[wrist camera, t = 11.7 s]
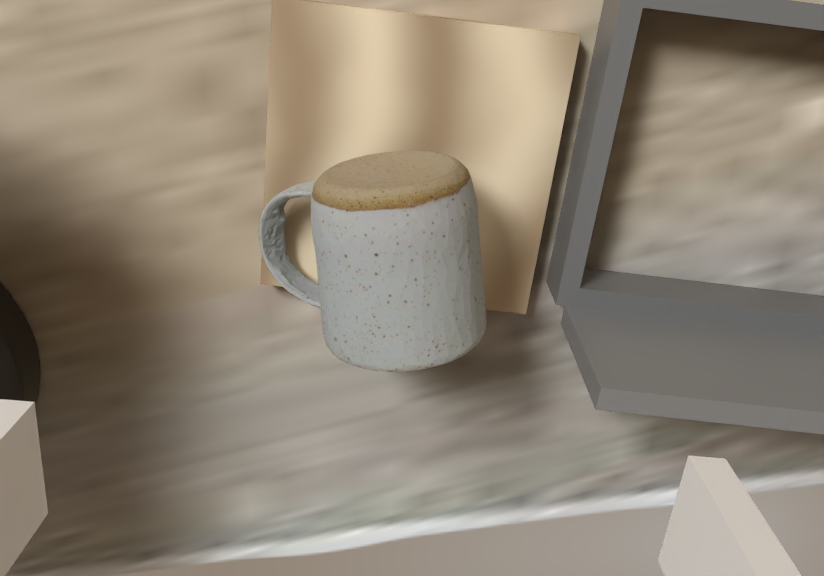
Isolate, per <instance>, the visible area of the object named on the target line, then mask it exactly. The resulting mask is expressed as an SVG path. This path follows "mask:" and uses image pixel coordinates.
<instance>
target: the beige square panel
mask: <svg viewBox="0 0 824 576" xmlns="http://www.w3.org/2000/svg"><path fill="white" fill-rule="evenodd" d="M580 37H581V36H579V35H576V34H570V33H562V32H554V31H546V30H538V29H530V28H522V27H514V26H507V25H499V24H491V23H483V22H475V21H467V20H459V19H451V18H443V17H435V16H428V15H420V14H412V13H404V12H396V11H388V10H380V9H372V8H364V7H357V6H349V5H341V4H333V3H325V2H317V1H309V0H272V14H271V38H270V63H269V87H268V112H267V136H266V161H265V185H264V208H265V207H266V205H267V204H268V203H269V202H270V200H271V199H272V198H273V197H275V196H276V195H277V194H279V193H280V192H282V191H284V190H286V189H288V188H290V187H292V186H294V185H296V184H301V183H305V182H310V181H316V180H317V179H318V178H319V177H320V176H321V174H322V173H323V172H324V171H326V170H327V169H329V168H331V167H332V166H334V165H336V164H338V163H341V162H344V161H347V160H350V159H353V158H357V157H361V156H365V155H370V154H377V153H383V152H395V151H430V152H437V153H442V154H446V155H449V156H451V157H454V158H455V159H457V160H458V161H460V162H461V163H462V164H463V165H464V166H465V167H466V168H467V169H468V171H469V173H470V176H471V178H472V182H473V186H474V191H475V195H476V199H477V206H478V222H479V237H480V250H481V258H482V270H483V285H484V297H485V308H486V310H492V311H501V312H510V313H519V314H526V312H527V306H528V301H529V296H530V291H531V286H532V281H533V276H534V271H535V266H536V261H537V256H538V251H539V245H540V240H541V235H542V230H543V225H544V220H545V215H546V210H547V205H548V200H549V195H550V190H551V184H552V179H553V174H554V169H555V164H556V159H557V154H558V149H559V144H560V139H561V134H562V129H563V123H564V118H565V113H566V108H567V103H568V98H569V93H570V88H571V83H572V78H573V73H574V68H575V62H576V57H577V52H578V47H579V42H580ZM284 211H285V215H286V220H285V222H284V231H285V244H286V251H287V253H288V255H289V257H290V260H291V262H292V263H293V265H295V266H296V268H297V269H298V270H299V271H300V272H301V273H302V274H303V275H304V276H305V277H307V278H308V279H310V280H311V281H313V282H315V283H316V284H318V274H317V263H316V254H315V248H314V242H313V235H312V227H311V197H309V198H305V197H298V198H291V199H289V200H288V201H287V203H286V205H285V207H284ZM260 284H264V285H272V286H281V285H280V284H279V283H278V282H277V281H276V279H275V278H274V277H273V276H272V274H271V273H270V271H269V270H268V268H267V266H266V264H265V262H264V259H263V256H262V259H261V283H260ZM281 287H282V286H281Z"/></svg>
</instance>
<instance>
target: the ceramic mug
mask: <svg viewBox="0 0 824 576" xmlns="http://www.w3.org/2000/svg"><path fill="white" fill-rule="evenodd" d="M298 197H305V198H309V197H311V227H312V235H313V242H314V248H315V254H316V263H317V274H318V284H316V283H315V282H313V281H311V280H310V279H308V278H307V277H305V276H304V275H303V274H302V273H301V272H300V271H299V270H298V269H297V268H296V266H295V265H293V263H292V262H291V260H290V257H289V255H288V253H287V251H286V244H285V231H284V222H285V220H286V215H285V211H284V207H285V205H286V203H287V201H288V200H289V199H291V198H298ZM259 242H260V249H261V253H262V256H263V259H264V262H265V264H266V266H267V268H268V270H269V271H270V273H271V274H272V276H273V277H274V278H275V279H276V281H277V282H278V283H279V284H280V285H281V286H282V287H284V288H285V289H286V290H287V291H288V292H289V293H291V294H292V295H294V296H295V297H297V298H299V299H300V300H302V301H304V302H306V303H308V304H311V305H313V306H317V307H319V308H321V317H322V326H323V334H324V338H325V342H326V345H327V347H328V348H329V349H330V351H331V352H332V354H333V355H335V356H336V357H338V358H339V359H340V360H342V361H344V362H346V363H349V364H351V365H354V366H357V367H361V368H365V369H369V370H374V371H386V372H403V371H414V370H421V369H427V368H432V367H435V366H439V365H442V364H446V363H449V362H451V361H453V360H456V359H458V358H460V357H461V356H463V355H465V354H466V353H468V352H469V351H470V350H472V349H473V348H474V347H476V346H477V345H478V343H479V342H480V341H481V339H482V338H483V336H484V334H485V331H486V325H487V321H486V308H485V297H484V285H483V270H482V258H481V250H480V237H479V222H478V206H477V199H476V195H475V191H474V186H473V182H472V178H471V176H470V173H469V171H468V169H467V168H466V167H465V166H464V165H463V164H462V163H461V162H460V161H458V160H457V159H455V158H454V157H451V156H449V155H446V154H442V153H437V152H430V151H395V152H383V153H377V154H370V155H365V156H361V157H357V158H353V159H350V160H347V161H344V162H341V163H338V164H336V165H334V166H332V167H331V168H329V169H327V170H326V171H324V172H323V173H322V174H321V176H320V177H319V178H318V179H317V180H316V181H310V182H305V183H301V184H296V185H294V186H292V187H290V188H288V189H286V190H284V191H282V192H280V193H279V194H277V195H276V196H275V197H273V198H272V199H271V200H270V202H269V203H268V204H267V205H266V207H265V208H264V210H263V212H262V214H261V218H260V223H259Z"/></svg>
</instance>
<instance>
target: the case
mask: <svg viewBox="0 0 824 576" xmlns="http://www.w3.org/2000/svg"><path fill="white" fill-rule="evenodd" d="M643 8H648V9H656V10H663V11H671V12H679V13H687V14H695V15H702V16H710V17H718V18H726V19H734V20H741V21H749V22H757V23H765V24H773V25H780V26H788V27H796V28H804V29H812V30H819V31H824V5H821V4H813V3H805V2H797V1H790V0H604V3H603V8H602V13H601V18H600V23H599V28H598V33H597V37H596V42H595V47H594V52H593V57H592V62H591V67H590V72H589V77H588V81H587V86H586V91H585V96H584V101H583V106H582V111H581V116H580V120H579V125H578V130H577V135H576V140H575V145H574V150H573V155H572V160H571V164H570V169H569V174H568V179H567V184H566V189H565V194H564V199H563V203H562V208H561V213H560V218H559V223H558V228H557V233H556V238H555V243H554V247H553V252H552V257H551V262H550V267H549V272H548V277H547V284H548V287H549V289H550V292H551V294H552V296H553V299H554V301H555V304H556V305H564V306H565V307H564V312H563V316H562V321H561V325H562V328H563V330H564V333H565V335H566V338H567V340H568V342H569V345H570V347H571V350H572V352H573V355H574V357H575V360H576V362H577V365H578V367H579V370H580V372H581V375H582V377H583V380H584V382H585V385H586V387H587V390H588V392H589V394H590V397H591V399H592V402H593V404H594V407H595V409H596V410H605V411H614V412H623V413H632V414H641V415H650V416H659V417H668V418H678V419H687V420H696V421H705V422H714V423H723V424H732V425H741V426H750V427H760V428H769V429H778V430H787V431H796V432H805V433H814V434H823V435H824V296H818V295H809V294H801V293H792V292H784V291H775V290H766V289H758V288H749V287H741V286H732V285H723V284H715V283H706V282H697V281H689V280H680V279H672V278H663V277H654V276H646V275H637V274H629V273H620V272H611V271H603V270H594V269H585V263H586V259H587V254H588V250H589V246H590V241H591V237H592V232H593V228H594V223H595V219H596V214H597V210H598V205H599V201H600V197H601V192H602V188H603V183H604V179H605V174H606V170H607V165H608V161H609V157H610V152H611V148H612V143H613V139H614V134H615V130H616V125H617V121H618V117H619V112H620V108H621V103H622V99H623V94H624V90H625V85H626V81H627V76H628V72H629V68H630V63H631V59H632V54H633V50H634V45H635V41H636V36H637V32H638V28H639V23H640V19H641V14H642V10H643Z"/></svg>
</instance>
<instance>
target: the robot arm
mask: <svg viewBox="0 0 824 576" xmlns="http://www.w3.org/2000/svg"><path fill="white" fill-rule="evenodd" d="M39 385H40V363H39V356H38V351H37V347H36V344H35V340H34V337H33V335H32V332H31V329H30V327H29V325H28V323H27V321H26V319H25V317H24V315H23V314H22V312H21V310H20V309H19V307H18V306H17V304H16V303H15V301H14V300H13V299H12V297H11V296H10V294H9V293H8V292H7V291H6V290H5V289H4V287H3V286H2V285H1V284H0V576H6V574H7V573H8V571H9V570H10V568H11V567H12V565H13V564H14V562H15V561H16V560H17V558H18V557H19V555H20V554H21V552H22V551H23V549H24V548H25V546H26V545H27V544H28V542H29V541H30V539H31V538H32V536H33V535H34V533H35V532H36V530H37V529H38V528H39V526H40V525H41V523H42V522H43V520H44V519H45V517H46V516H47V514H48V508H47V499H46V491H45V483H44V475H43V467H42V459H41V451H40V442H39V434H38V426H37V418H36V410H35V403H36V400H37V396H38V392H39ZM658 562H659V564H660V566H661V569H662V571H663V574H664V576H801V574H800V573H799V572H798V570H797V568H796V567H795V565H794V564H793V562H792V560H791V559H790V557H789V556H788V554H787V553H786V551H785V550H784V548H783V547H782V545H781V544H780V542H779V541H778V539H777V537H776V536H775V534H774V533H773V531H772V530H771V528H770V527H769V525H768V524H767V522H766V521H765V519H764V517H763V516H762V514H761V513H760V511H759V510H758V508H757V507H756V505H755V503H754V502H753V500H752V499H751V497H750V496H749V494H748V493H747V491H746V490H745V488H744V487H743V485H742V483H741V482H740V480H739V479H738V477H737V476H736V474H735V473H734V471H733V470H732V468H731V467H730V465H729V463H728V462H727V460H726V459H724V458H712V457H700V456H688V459H687V462H686V465H685V469H684V472H683V476H682V479H681V483H680V486H679V490H678V493H677V496H676V500H675V503H674V507H673V511H672V514H671V517H670V521H669V524H668V528H667V531H666V534H665V538H664V541H663V545H662V548H661V552H660V555H659V559H658Z"/></svg>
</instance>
